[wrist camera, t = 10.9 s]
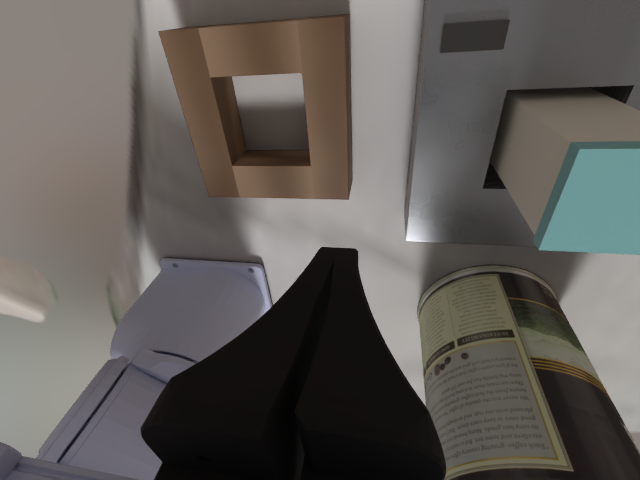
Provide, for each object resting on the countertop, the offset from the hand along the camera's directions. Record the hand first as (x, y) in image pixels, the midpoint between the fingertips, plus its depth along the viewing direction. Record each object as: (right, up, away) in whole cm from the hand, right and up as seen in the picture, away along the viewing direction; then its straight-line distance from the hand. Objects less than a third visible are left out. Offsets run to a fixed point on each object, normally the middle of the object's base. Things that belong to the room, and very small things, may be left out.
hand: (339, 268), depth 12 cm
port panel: (+11, +7, +5) cm, 14 cm away
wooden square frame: (-3, +9, +7) cm, 12 cm away
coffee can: (+12, -5, +14) cm, 19 cm away
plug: (+11, +7, +5) cm, 14 cm away
